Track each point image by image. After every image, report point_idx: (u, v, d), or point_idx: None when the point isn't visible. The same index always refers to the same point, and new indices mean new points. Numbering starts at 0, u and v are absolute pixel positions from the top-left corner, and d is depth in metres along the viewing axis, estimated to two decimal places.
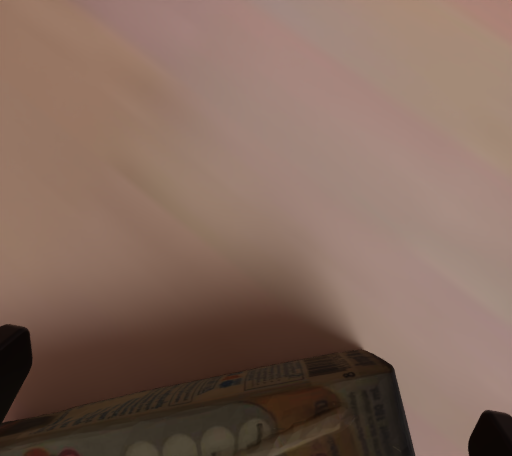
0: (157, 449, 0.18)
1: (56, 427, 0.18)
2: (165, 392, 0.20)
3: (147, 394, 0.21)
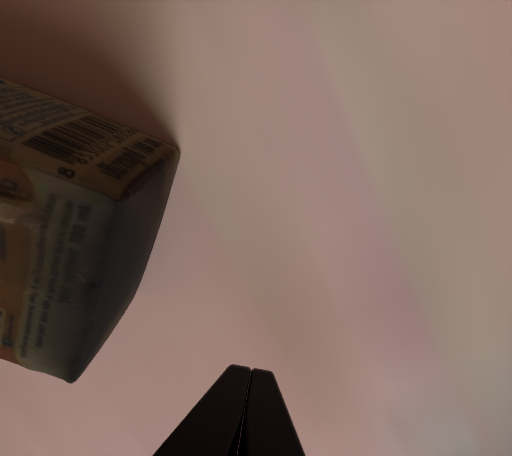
0: None
1: None
2: None
3: None
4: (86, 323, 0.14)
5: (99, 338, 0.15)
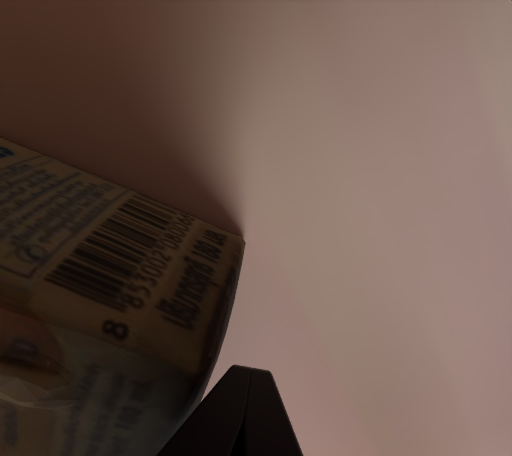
0: None
1: None
2: None
3: None
4: None
5: None
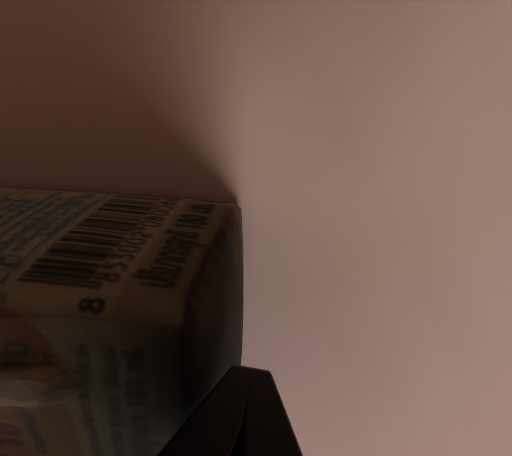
0: None
1: None
2: None
3: None
4: None
5: None
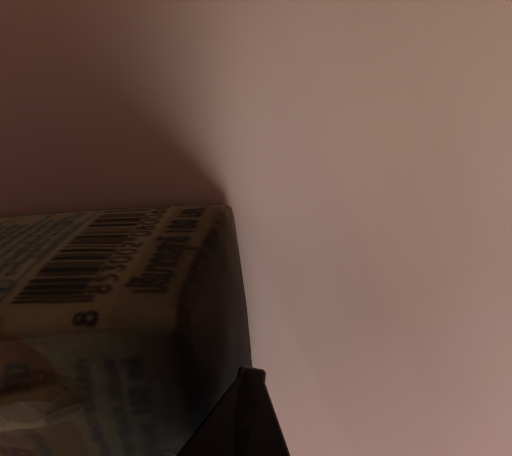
0: None
1: None
2: None
3: None
4: None
5: None
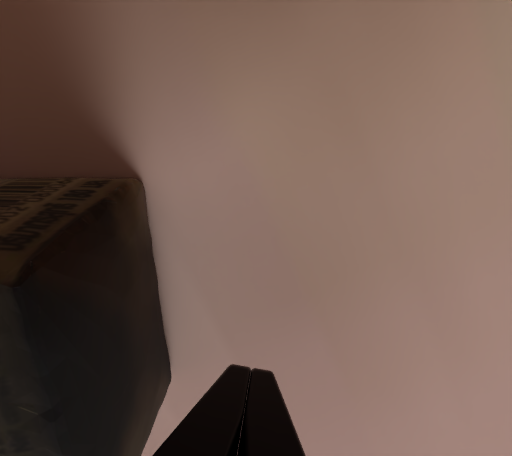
0: None
1: None
2: None
3: None
4: None
5: None
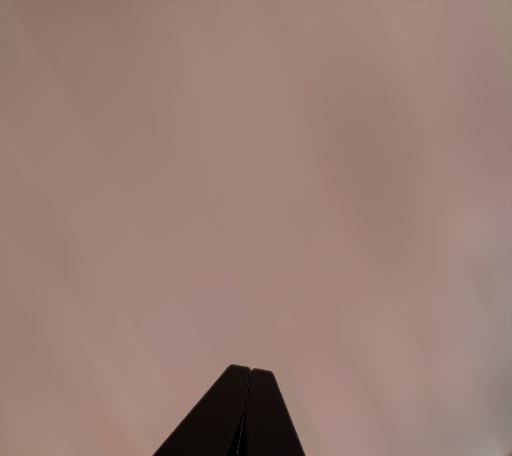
0: None
1: None
2: None
3: None
4: None
5: None
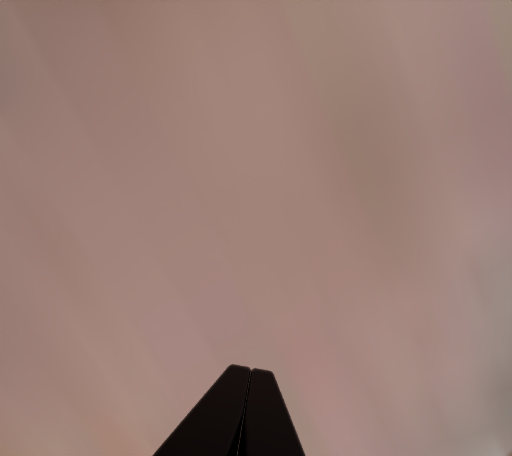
0: None
1: None
2: None
3: None
4: None
5: None
